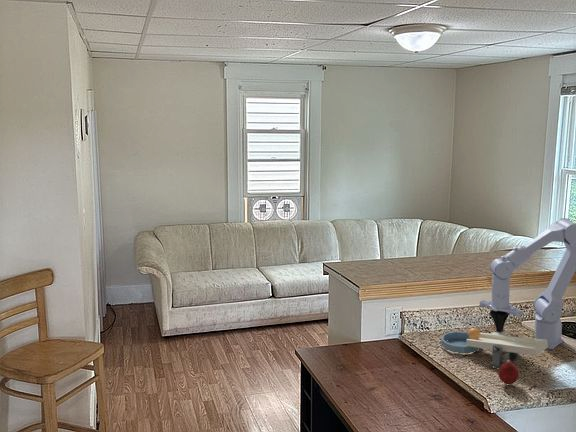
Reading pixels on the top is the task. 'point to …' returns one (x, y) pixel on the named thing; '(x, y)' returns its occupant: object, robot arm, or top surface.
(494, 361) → the stand
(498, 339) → the lever
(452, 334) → the blue bowl
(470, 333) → the ball
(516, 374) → the onion
